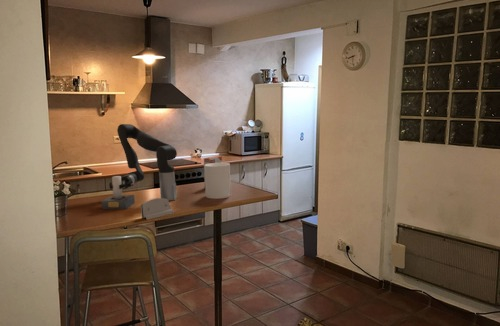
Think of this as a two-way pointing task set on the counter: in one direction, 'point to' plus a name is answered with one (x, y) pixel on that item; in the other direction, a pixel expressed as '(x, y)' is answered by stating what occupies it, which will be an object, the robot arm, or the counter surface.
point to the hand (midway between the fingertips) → (115, 187)
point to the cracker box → (212, 161)
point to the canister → (217, 180)
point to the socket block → (118, 202)
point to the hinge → (156, 208)
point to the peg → (117, 187)
